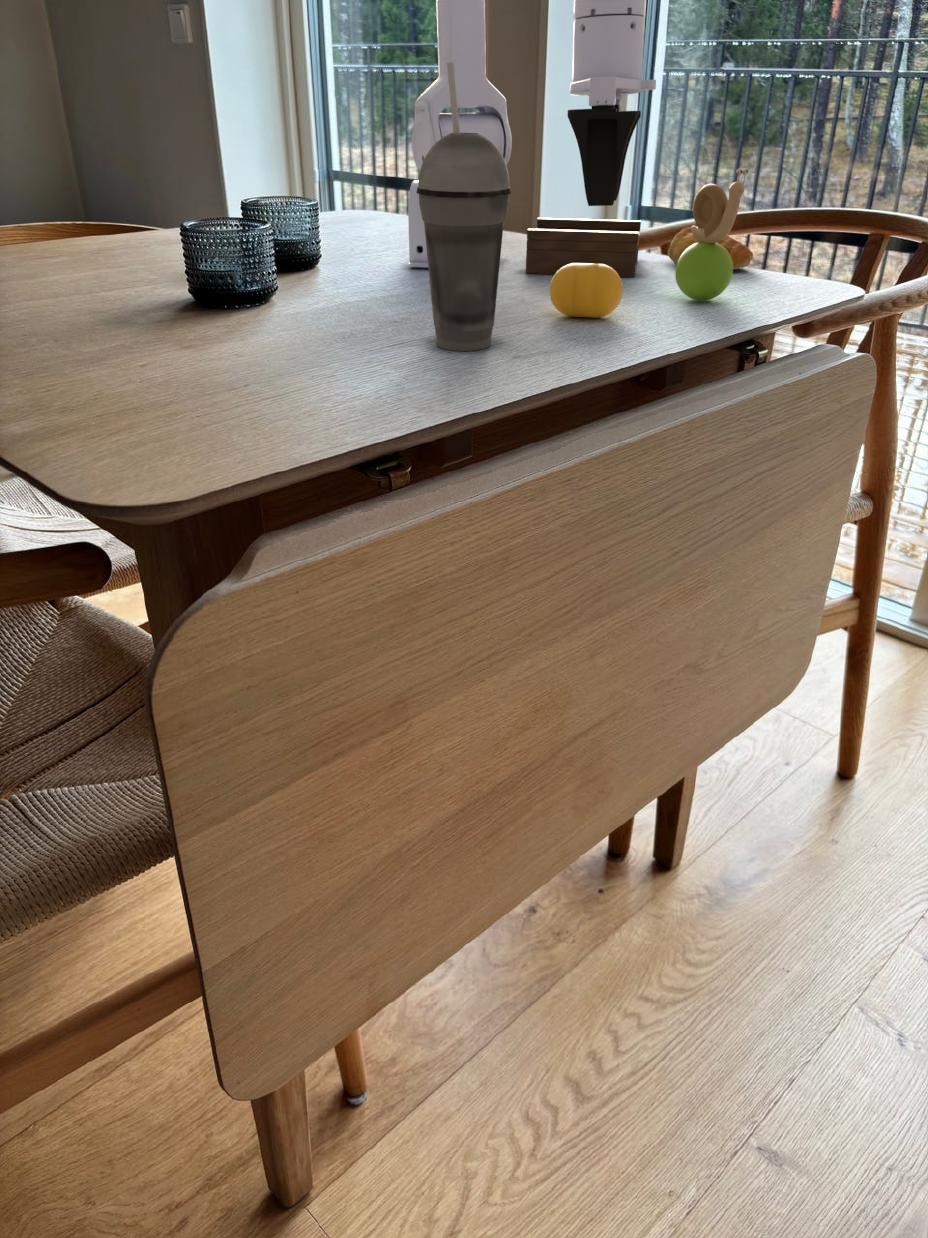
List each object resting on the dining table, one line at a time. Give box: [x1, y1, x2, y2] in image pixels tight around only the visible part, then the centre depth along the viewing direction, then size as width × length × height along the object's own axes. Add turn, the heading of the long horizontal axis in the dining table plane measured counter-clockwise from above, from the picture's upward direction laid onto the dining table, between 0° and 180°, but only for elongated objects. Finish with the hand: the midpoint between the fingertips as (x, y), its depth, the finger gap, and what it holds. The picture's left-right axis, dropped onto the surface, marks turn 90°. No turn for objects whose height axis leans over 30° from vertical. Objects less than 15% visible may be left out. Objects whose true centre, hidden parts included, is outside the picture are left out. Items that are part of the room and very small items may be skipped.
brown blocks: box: [525, 217, 642, 278], centre depth 107 cm, size 12×10×4 cm
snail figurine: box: [674, 167, 749, 302], centre depth 89 cm, size 5×6×12 cm
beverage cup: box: [416, 62, 512, 352], centre depth 73 cm, size 7×7×20 cm
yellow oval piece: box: [549, 263, 624, 319], centre depth 85 cm, size 7×5×5 cm
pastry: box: [667, 226, 754, 270], centre depth 108 cm, size 9×7×4 cm
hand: (602, 202), depth 82 cm, fingers open, 7 cm apart
